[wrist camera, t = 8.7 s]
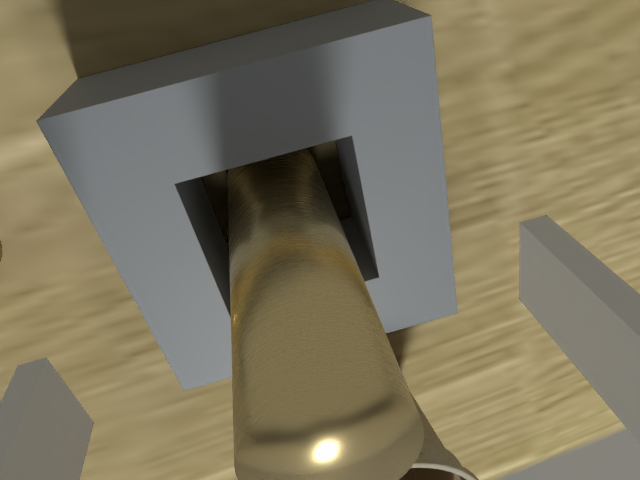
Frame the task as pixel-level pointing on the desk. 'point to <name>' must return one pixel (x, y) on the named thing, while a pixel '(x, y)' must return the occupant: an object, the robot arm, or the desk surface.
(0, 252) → the short pin
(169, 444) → the desk surface
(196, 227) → the slate block
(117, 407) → the desk surface
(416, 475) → the flower pot
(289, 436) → the long pin
